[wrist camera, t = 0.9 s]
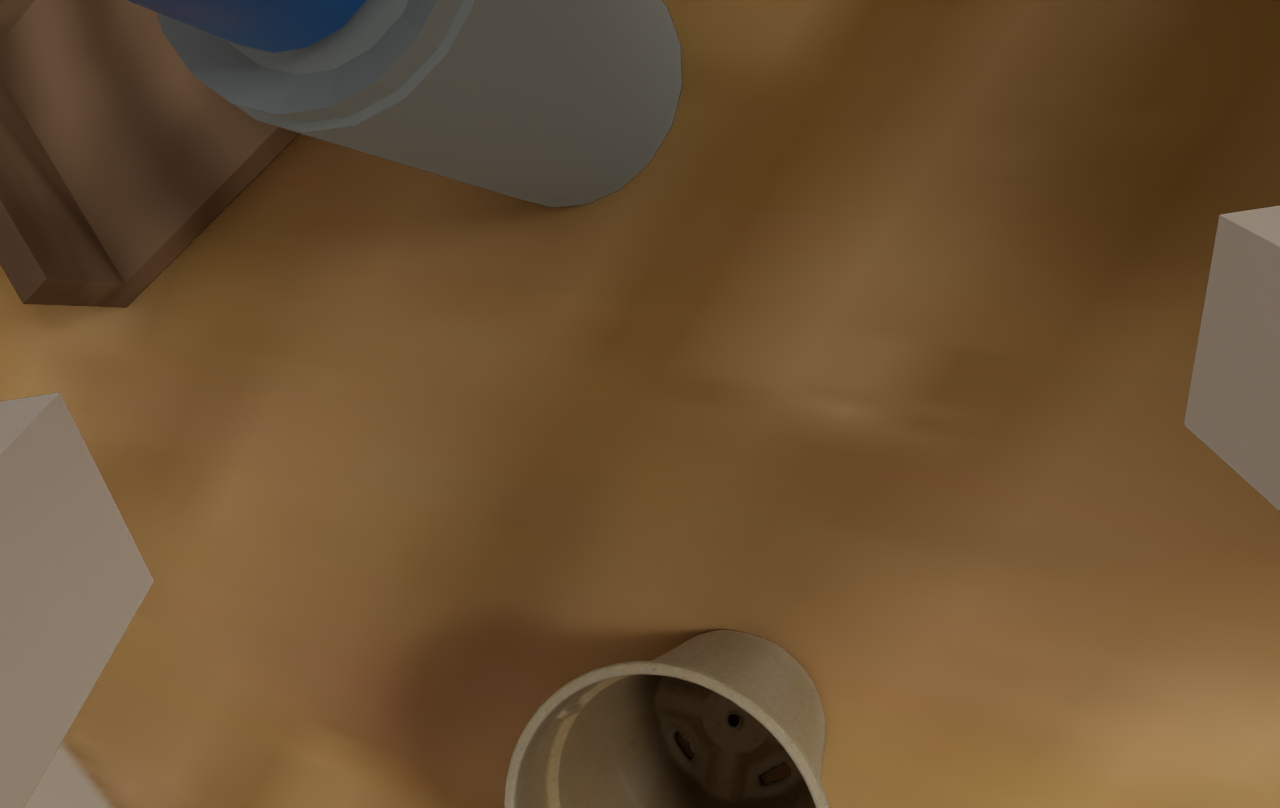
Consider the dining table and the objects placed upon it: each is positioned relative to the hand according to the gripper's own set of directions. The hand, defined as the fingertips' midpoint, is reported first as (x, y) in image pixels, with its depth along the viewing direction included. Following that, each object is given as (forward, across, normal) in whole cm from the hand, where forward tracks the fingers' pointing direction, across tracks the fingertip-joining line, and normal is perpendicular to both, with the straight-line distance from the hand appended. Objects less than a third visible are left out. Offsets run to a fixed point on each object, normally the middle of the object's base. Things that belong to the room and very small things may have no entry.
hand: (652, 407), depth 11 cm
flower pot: (+14, +2, -21) cm, 26 cm away
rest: (+34, -19, +1) cm, 39 cm away
